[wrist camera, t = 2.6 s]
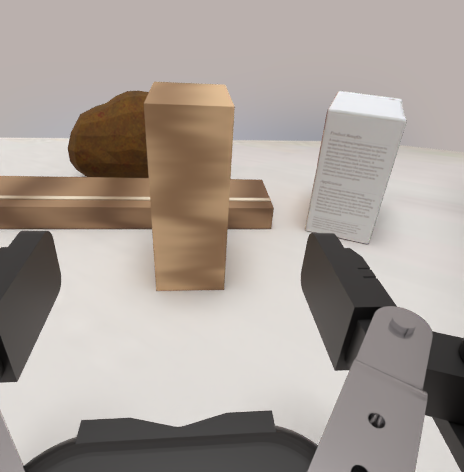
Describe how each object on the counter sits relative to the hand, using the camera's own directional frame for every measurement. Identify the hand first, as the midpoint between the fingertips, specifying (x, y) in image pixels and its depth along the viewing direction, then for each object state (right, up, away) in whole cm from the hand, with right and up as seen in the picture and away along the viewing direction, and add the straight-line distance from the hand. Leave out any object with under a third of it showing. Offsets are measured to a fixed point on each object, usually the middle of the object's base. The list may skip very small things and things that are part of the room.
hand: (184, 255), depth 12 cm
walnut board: (-8, +3, +21) cm, 23 cm away
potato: (-9, +7, +29) cm, 31 cm away
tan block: (-2, 0, +18) cm, 18 cm away
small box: (+12, +2, +23) cm, 26 cm away
